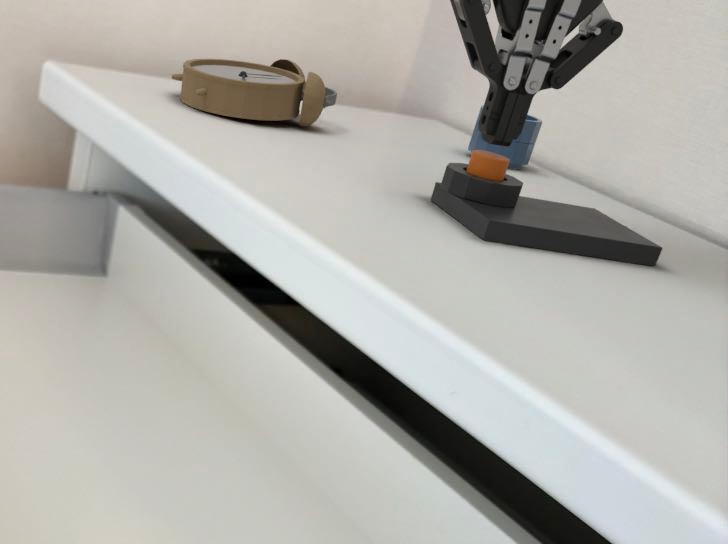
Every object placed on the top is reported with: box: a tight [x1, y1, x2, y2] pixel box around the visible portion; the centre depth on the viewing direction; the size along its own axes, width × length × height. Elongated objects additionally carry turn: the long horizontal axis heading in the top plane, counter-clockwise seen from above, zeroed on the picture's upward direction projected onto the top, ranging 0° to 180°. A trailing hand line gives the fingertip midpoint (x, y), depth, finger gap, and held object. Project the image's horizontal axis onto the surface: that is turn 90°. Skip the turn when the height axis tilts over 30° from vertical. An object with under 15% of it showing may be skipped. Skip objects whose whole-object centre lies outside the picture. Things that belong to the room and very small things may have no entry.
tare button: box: [466, 150, 510, 181], centre depth 81 cm, size 3×3×2 cm
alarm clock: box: [171, 58, 338, 127], centre depth 102 cm, size 11×5×15 cm
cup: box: [467, 104, 543, 170], centre depth 105 cm, size 6×6×4 cm
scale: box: [430, 162, 663, 267], centre depth 81 cm, size 14×10×3 cm
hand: (495, 143), depth 80 cm, fingers closed
